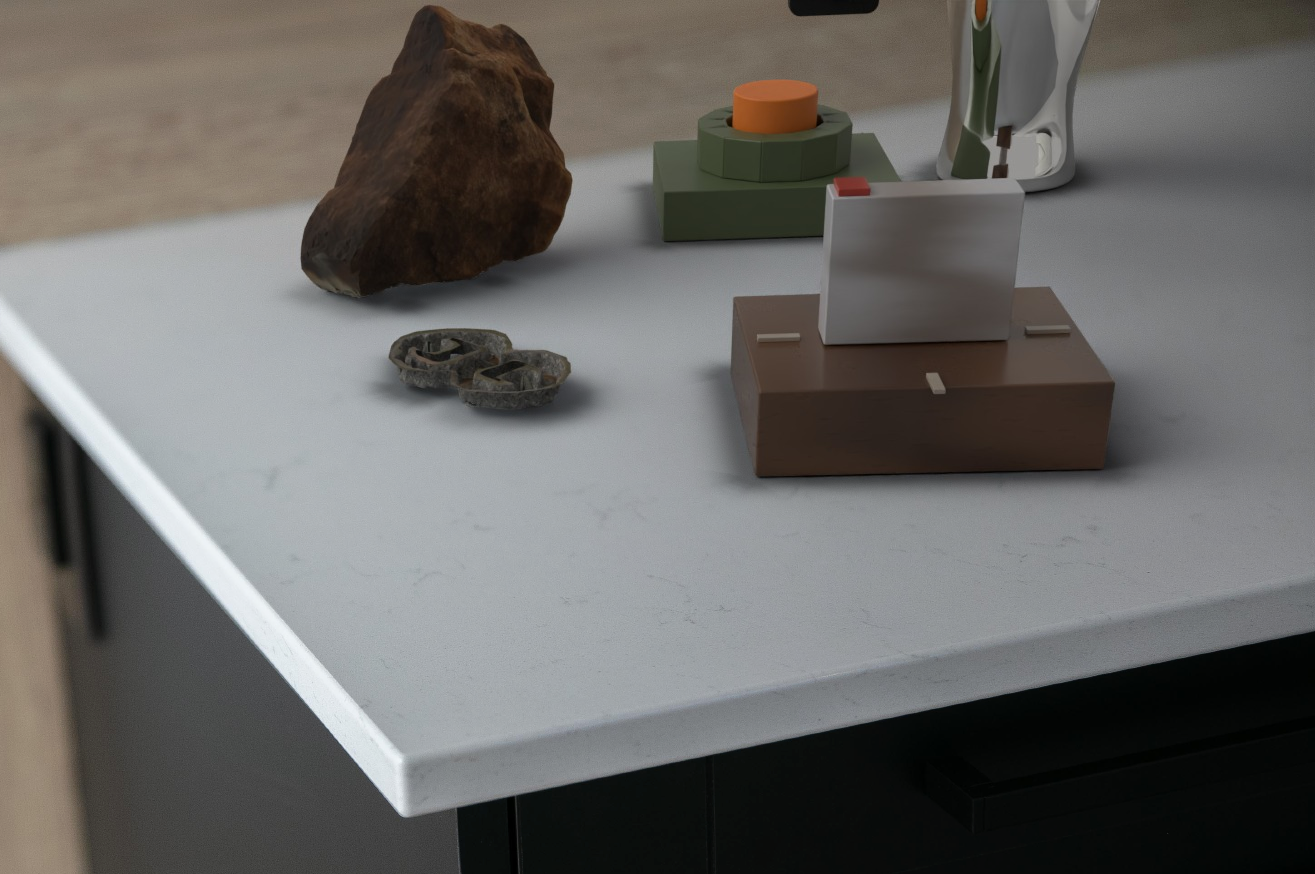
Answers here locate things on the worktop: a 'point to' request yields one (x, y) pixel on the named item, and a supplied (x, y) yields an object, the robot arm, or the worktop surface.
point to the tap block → (918, 395)
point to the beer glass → (1014, 89)
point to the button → (775, 106)
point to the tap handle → (919, 260)
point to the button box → (759, 177)
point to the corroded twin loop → (479, 367)
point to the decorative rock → (443, 165)
